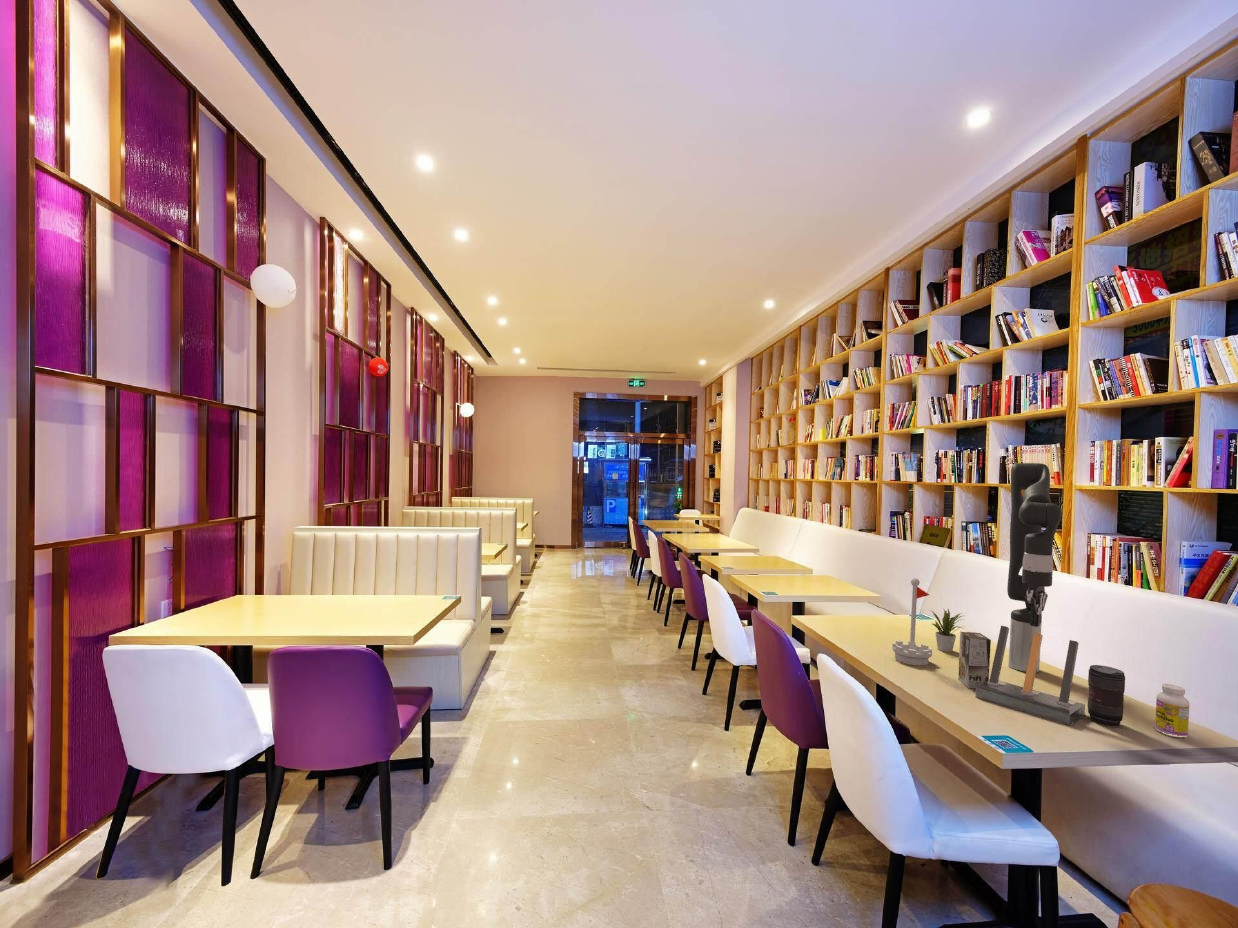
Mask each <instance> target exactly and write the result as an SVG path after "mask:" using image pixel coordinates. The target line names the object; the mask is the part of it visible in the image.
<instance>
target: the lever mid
mask: <svg viewBox="0 0 1238 928" xmlns="http://www.w3.org/2000/svg"><path fill="white" fill-rule="evenodd" d="M1043 637H1044V636H1043V634H1042V633H1041V634H1039V633H1034V636H1033V641H1032V646H1031V651H1030V656H1029V661H1028V666H1027V671H1026V672H1025V677H1024V683H1023V686H1022V687H1023V690H1021V694H1022V695H1025V696H1029V697H1033V693H1032V690H1034V689H1033V687H1034V684H1035V678H1036V674H1037V672H1036V668H1037V663H1038V658H1039V652H1040V653H1041V647H1042V643H1043V642H1042V641H1043Z"/></svg>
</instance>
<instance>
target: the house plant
mask: <svg viewBox="0 0 1238 928" xmlns="http://www.w3.org/2000/svg"><path fill="white" fill-rule="evenodd" d="M942 609H943V611H944V612H943V617H942V620H940V617H938V615H937V614H936V613H935V612H934V611H933V610H930V609H929V611H930V612H931V613H932V615H933V616H934V617H935V619H934V622H935V623H931V625H932V626H934V627H935V628H936V629H937V630H938V631H936V632H935V638H936V648H937V650H939V651H941V652H945V653H952V652H953V650H954V646H955V642H956V638H957V635H956V634H954V632H956V631H957V630H959V629H963V630H964V627H962V626H956V623H958V622H959V621H962V620H963V621H964V619H960V618H963V617H964V615H962V614H963V612H961V613H960V612H959V613H957V614H956V615H954V616H953V617H951V613H950V609H949V608H947V610H945V608H942ZM955 621H956V622H955ZM956 628H957V629H956ZM955 629H956V630H955ZM953 630H954V631H953Z"/></svg>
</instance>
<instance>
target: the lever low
mask: <svg viewBox="0 0 1238 928" xmlns="http://www.w3.org/2000/svg"><path fill="white" fill-rule="evenodd" d="M1009 634H1010V628H1009V627H1008V626H1006V625H1000V629H999V634H998V638H997V644H996V648H995V653H994V658H993V663H992V667H991V670H990V675H989V680H988V682H987V684H988V685H990V686H993V687H997V688H998V687H999V683H998V681H1000V676H1001V670H1002V665H1003V661H1004V655H1005V651H1006V646H1007V642H1008V637H1009Z"/></svg>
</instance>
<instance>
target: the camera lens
mask: <svg viewBox="0 0 1238 928" xmlns="http://www.w3.org/2000/svg"><path fill="white" fill-rule="evenodd" d="M1087 679H1088V680H1087V683H1088V694H1087V696H1088V697H1087V713H1088V715H1089V720H1091V722H1093V723H1096V724H1097V725H1102V726H1105V727H1106V726H1107V727H1110V728H1119V727H1121V722H1122V721H1123V717H1124V707H1125V705H1124V699H1125V698H1124V697H1125V691H1126V690H1125V689H1126V688H1125V687H1126V676H1125V672H1124V671H1123V670H1121V669H1118V668H1116V667H1112V666H1108V665H1101V664H1100V665H1099V664H1092V665H1090V666H1089V669H1088V678H1087Z"/></svg>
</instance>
